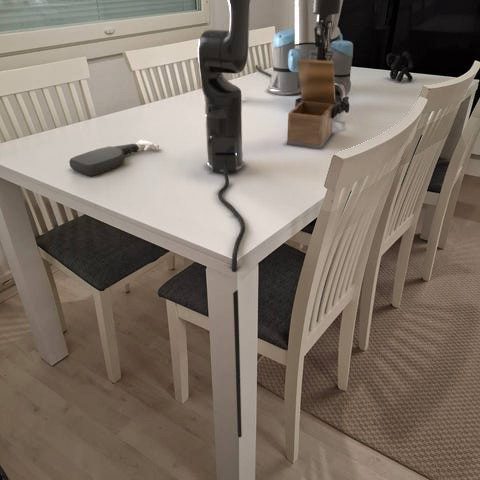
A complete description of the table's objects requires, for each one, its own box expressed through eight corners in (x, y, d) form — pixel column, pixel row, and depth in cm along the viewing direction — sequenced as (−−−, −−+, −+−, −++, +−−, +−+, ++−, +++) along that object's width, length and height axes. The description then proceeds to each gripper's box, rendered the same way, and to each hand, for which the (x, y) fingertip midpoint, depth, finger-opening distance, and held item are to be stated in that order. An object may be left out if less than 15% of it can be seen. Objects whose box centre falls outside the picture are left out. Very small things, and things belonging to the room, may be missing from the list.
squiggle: (400, 92, 202) (376, 71, 205) (417, 76, 202) (392, 56, 205) (405, 81, 191) (380, 59, 194) (423, 64, 191) (397, 42, 194)
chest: (320, 148, 130) (323, 116, 125) (286, 144, 133) (288, 113, 128) (331, 133, 141) (334, 103, 136) (300, 129, 144) (302, 100, 139)
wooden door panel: (332, 63, 123) (339, 42, 126) (296, 61, 126) (305, 41, 129) (334, 103, 135) (341, 83, 139) (302, 100, 139) (309, 80, 142)
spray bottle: (67, 168, 120) (139, 144, 136) (91, 178, 114) (163, 151, 130) (65, 157, 118) (137, 134, 134) (89, 167, 112) (162, 142, 128)
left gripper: (320, -7, 129) (315, 57, 138) (306, -5, 118) (302, 64, 127) (345, -7, 126) (339, 58, 135) (335, -5, 116) (328, 66, 125)
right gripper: (364, 108, 152) (351, 128, 134) (299, 102, 159) (279, 120, 142) (367, 86, 148) (354, 103, 130) (300, 81, 155) (280, 96, 138)
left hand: (321, 61), depth 131 cm, fingers closed on wooden door panel
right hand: (315, 112), depth 136 cm, fingers closed on chest, 10 cm apart
